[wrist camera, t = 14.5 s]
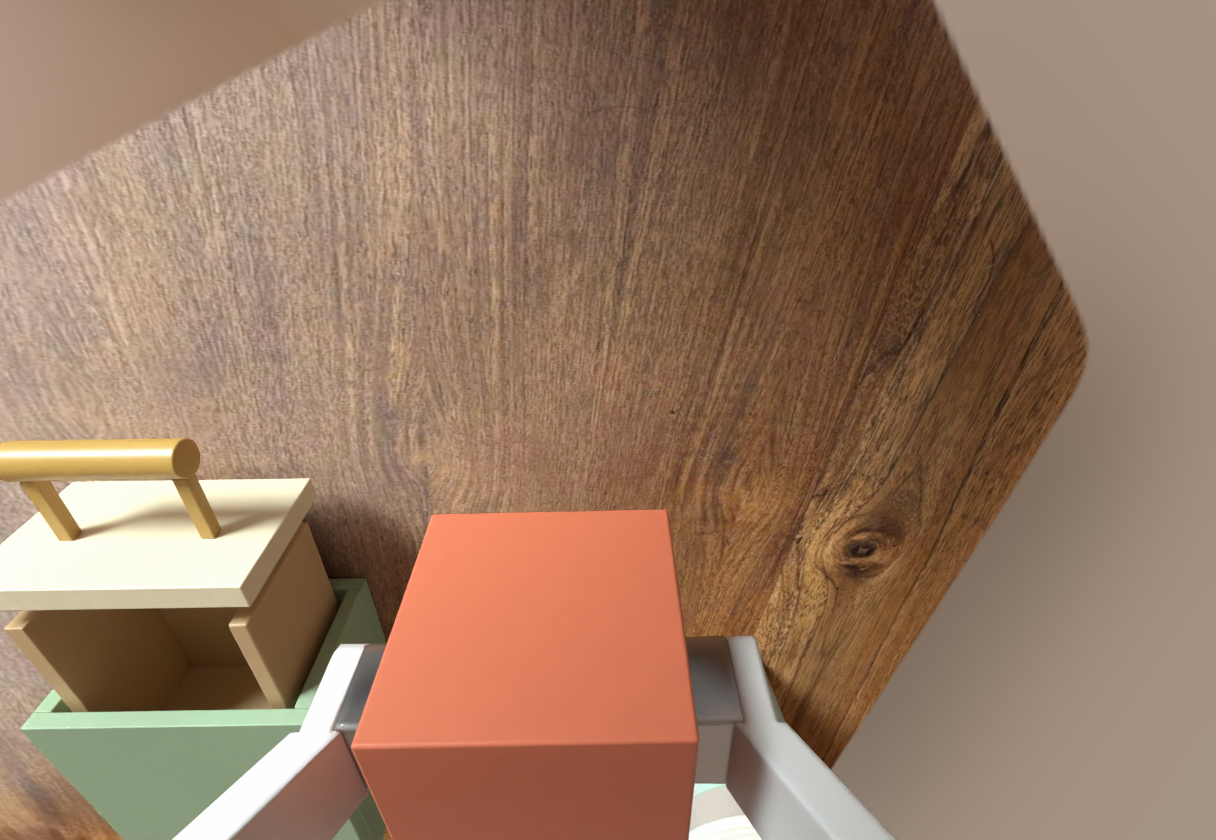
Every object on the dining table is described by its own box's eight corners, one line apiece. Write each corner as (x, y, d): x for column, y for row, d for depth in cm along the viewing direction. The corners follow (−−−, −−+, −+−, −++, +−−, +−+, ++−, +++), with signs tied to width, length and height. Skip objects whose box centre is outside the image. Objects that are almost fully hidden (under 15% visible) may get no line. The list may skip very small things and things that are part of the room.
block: (431, 513, 11) (348, 747, 8) (667, 507, 11) (700, 740, 8) (466, 661, 14) (415, 896, 10) (661, 657, 14) (683, 891, 10)
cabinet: (141, 581, 34) (18, 729, 27) (366, 577, 34) (303, 724, 27) (231, 728, 42) (154, 873, 35) (413, 725, 42) (375, 869, 35)
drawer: (19, 394, 27) (-139, 495, 21) (280, 391, 27) (193, 490, 21) (182, 658, 37) (104, 775, 31) (372, 655, 37) (330, 771, 31)
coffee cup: (645, 643, 38) (662, 869, 28) (785, 626, 37) (854, 852, 27) (662, 721, 42) (682, 939, 32) (787, 707, 41) (847, 926, 31)
